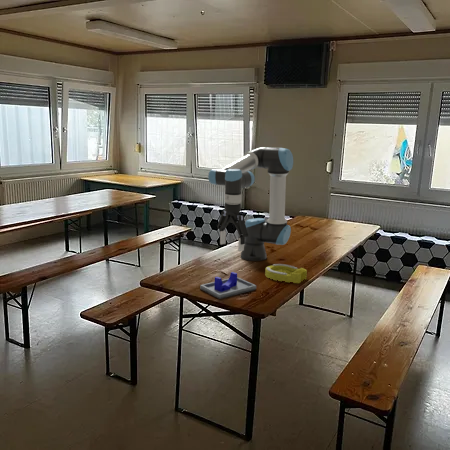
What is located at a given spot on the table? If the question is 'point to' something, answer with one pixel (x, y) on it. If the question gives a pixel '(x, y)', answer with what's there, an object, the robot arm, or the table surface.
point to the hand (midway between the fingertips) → (231, 247)
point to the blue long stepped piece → (226, 286)
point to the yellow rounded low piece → (285, 273)
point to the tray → (238, 289)
